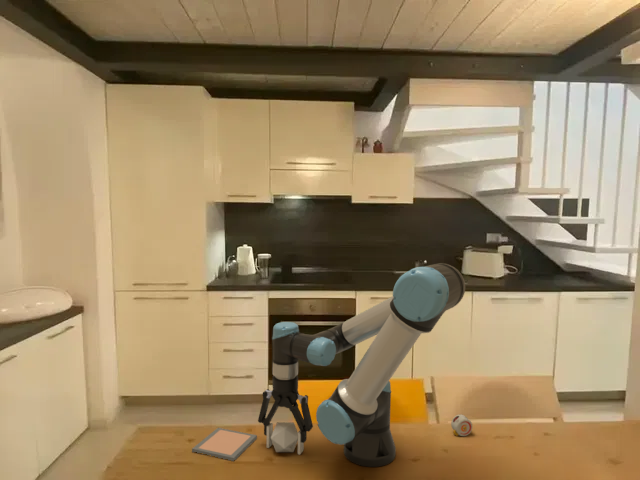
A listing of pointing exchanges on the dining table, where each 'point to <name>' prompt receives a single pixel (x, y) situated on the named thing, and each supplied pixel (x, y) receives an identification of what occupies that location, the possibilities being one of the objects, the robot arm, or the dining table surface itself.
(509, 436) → the dining table surface
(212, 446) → the base plate
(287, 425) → the die
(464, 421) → the roller toy
